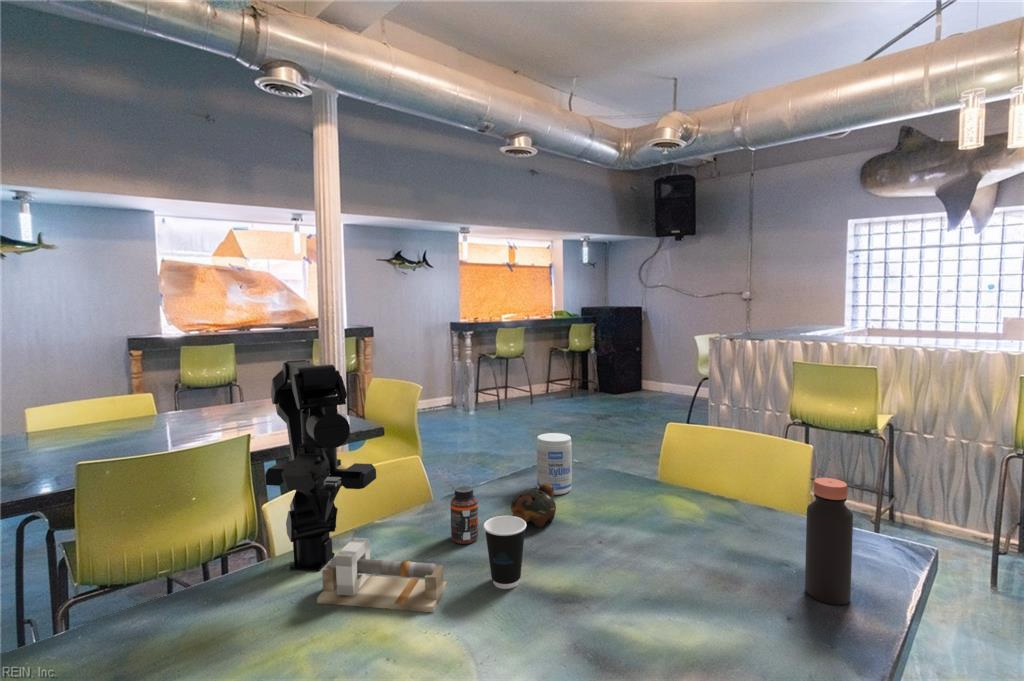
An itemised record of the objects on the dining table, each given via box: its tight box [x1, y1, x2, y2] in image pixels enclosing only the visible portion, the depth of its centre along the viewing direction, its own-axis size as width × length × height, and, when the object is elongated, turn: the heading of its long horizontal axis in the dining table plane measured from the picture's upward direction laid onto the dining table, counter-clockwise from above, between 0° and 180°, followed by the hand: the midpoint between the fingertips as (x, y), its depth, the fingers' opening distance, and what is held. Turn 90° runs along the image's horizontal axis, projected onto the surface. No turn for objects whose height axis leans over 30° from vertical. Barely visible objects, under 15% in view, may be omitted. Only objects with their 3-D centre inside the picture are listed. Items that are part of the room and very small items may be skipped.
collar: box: [334, 537, 372, 596], centre depth 93 cm, size 3×7×7 cm, turn 171°
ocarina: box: [510, 483, 557, 529], centre depth 121 cm, size 10×15×8 cm, turn 148°
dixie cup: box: [482, 515, 527, 590], centre depth 96 cm, size 8×8×11 cm
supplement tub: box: [536, 432, 573, 496], centre depth 142 cm, size 10×10×15 cm
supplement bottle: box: [450, 485, 479, 545], centre depth 114 cm, size 6×6×11 cm
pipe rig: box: [316, 556, 448, 613], centre depth 93 cm, size 21×8×6 cm, turn 81°
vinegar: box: [804, 477, 854, 606], centre depth 89 cm, size 7×7×20 cm
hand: (323, 520), depth 94 cm, fingers closed
